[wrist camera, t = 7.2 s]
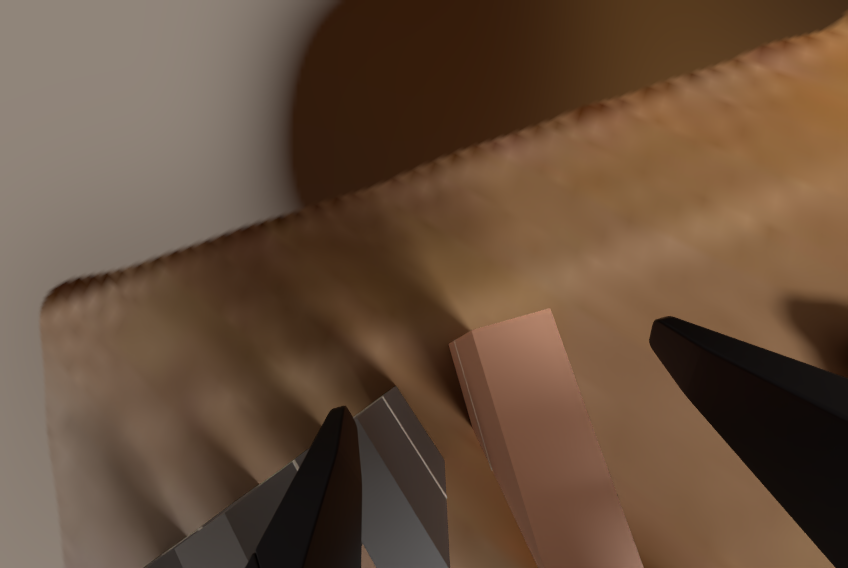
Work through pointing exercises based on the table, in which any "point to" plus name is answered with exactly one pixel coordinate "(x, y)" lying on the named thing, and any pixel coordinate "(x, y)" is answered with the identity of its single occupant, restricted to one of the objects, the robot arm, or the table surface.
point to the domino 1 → (238, 525)
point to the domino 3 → (542, 443)
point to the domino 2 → (401, 487)
